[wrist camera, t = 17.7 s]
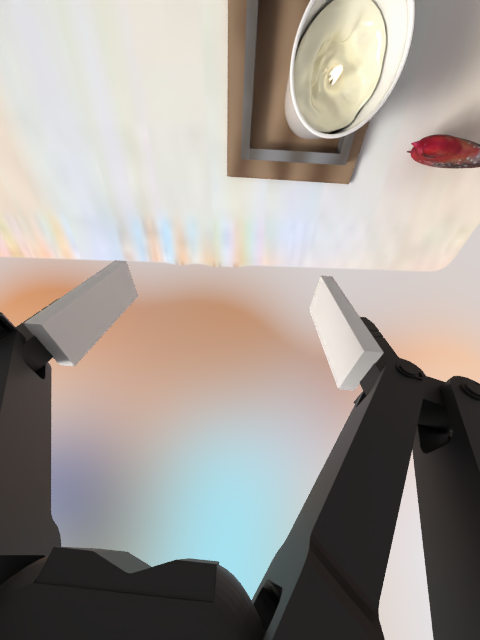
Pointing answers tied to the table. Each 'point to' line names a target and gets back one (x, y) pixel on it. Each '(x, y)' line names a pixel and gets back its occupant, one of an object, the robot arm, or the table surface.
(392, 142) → the table surface
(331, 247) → the table surface
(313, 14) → the candle holder
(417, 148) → the decorative bird figurine
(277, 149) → the brown square wooden tray
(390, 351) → the robot arm
